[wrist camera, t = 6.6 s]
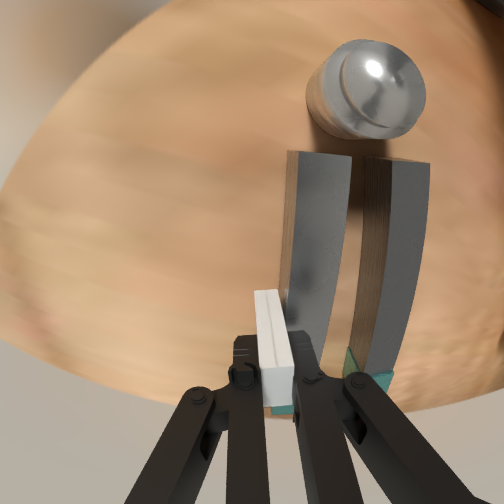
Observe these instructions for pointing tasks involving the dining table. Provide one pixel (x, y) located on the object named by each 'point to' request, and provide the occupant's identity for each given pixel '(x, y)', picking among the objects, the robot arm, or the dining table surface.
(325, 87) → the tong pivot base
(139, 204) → the dining table surface
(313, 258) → the tong swing arm
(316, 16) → the dining table surface
